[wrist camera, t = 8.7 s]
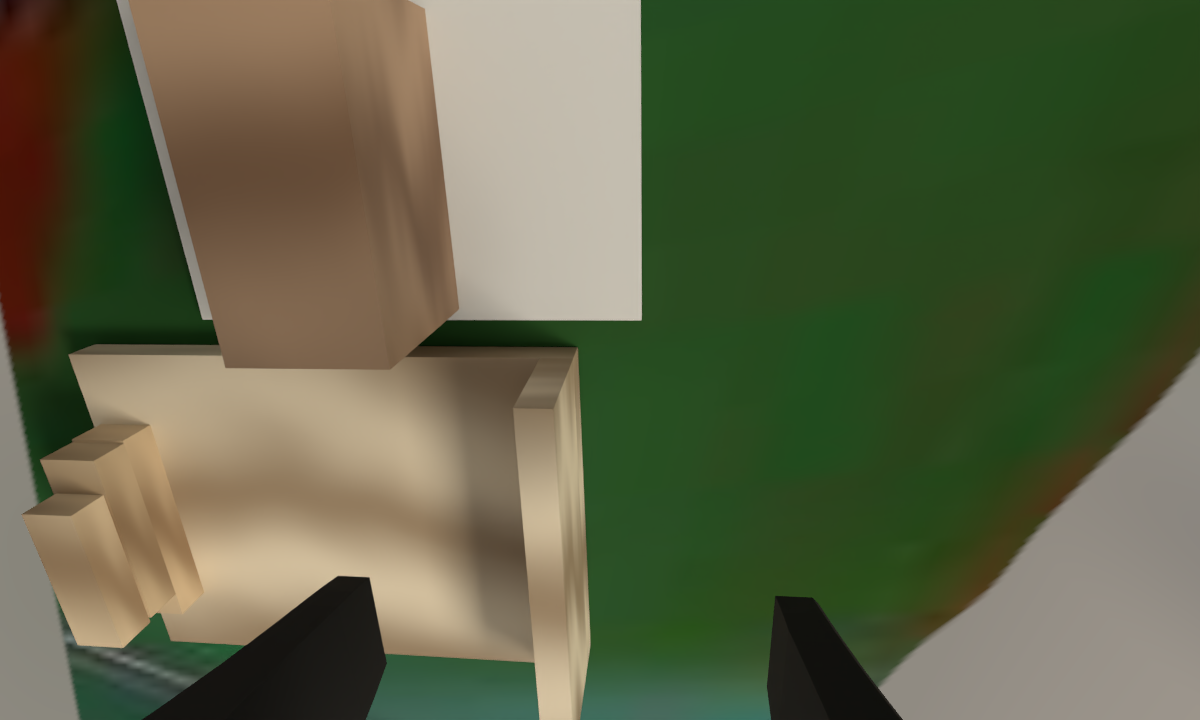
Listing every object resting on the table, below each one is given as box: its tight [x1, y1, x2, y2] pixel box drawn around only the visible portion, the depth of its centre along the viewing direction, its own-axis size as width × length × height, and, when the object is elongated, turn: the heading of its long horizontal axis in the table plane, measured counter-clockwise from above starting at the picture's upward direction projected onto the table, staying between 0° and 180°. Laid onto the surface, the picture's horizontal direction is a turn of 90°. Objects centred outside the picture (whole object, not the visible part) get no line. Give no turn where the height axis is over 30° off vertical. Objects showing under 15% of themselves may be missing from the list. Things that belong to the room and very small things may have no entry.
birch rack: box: [68, 344, 590, 720], centre depth 20 cm, size 12×16×4 cm
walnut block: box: [128, 0, 459, 370], centre depth 15 cm, size 8×4×5 cm, turn 2°
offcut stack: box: [22, 424, 204, 648], centre depth 20 cm, size 7×2×3 cm, turn 2°
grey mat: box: [116, 0, 642, 320], centre depth 17 cm, size 10×14×1 cm
